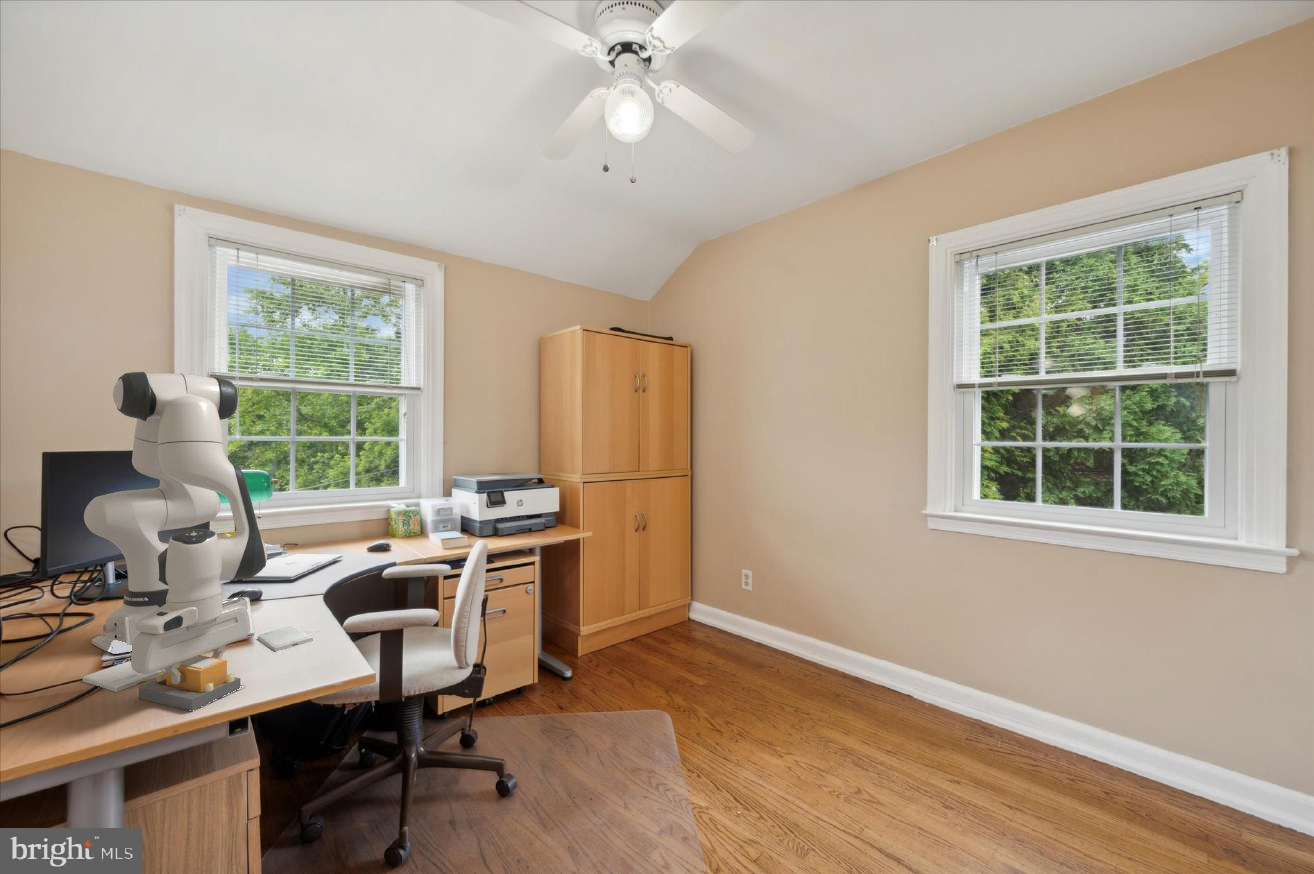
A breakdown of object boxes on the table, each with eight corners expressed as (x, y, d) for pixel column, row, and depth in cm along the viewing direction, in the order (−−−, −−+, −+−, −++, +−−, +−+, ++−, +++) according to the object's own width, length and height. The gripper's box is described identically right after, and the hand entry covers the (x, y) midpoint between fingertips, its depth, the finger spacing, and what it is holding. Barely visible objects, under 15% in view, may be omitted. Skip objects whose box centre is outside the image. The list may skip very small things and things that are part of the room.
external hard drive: (130, 667, 123) (164, 676, 119) (82, 683, 115) (116, 694, 111) (130, 660, 123) (164, 669, 119) (82, 676, 115) (116, 687, 111)
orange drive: (166, 685, 110) (165, 663, 110) (193, 674, 115) (193, 653, 115) (200, 693, 107) (200, 670, 107) (227, 681, 112) (226, 659, 112)
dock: (138, 698, 108) (138, 681, 108) (194, 676, 118) (193, 660, 118) (192, 711, 104) (192, 693, 104) (245, 687, 113) (245, 670, 113)
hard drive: (257, 635, 138) (275, 647, 130) (293, 625, 144) (313, 636, 137) (257, 641, 138) (275, 654, 130) (293, 631, 144) (313, 643, 137)
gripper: (236, 592, 122) (237, 652, 122) (124, 625, 102) (126, 696, 102) (256, 595, 120) (257, 656, 120) (147, 629, 100) (148, 702, 101)
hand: (196, 675), depth 111 cm, fingers closed on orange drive, 5 cm apart
